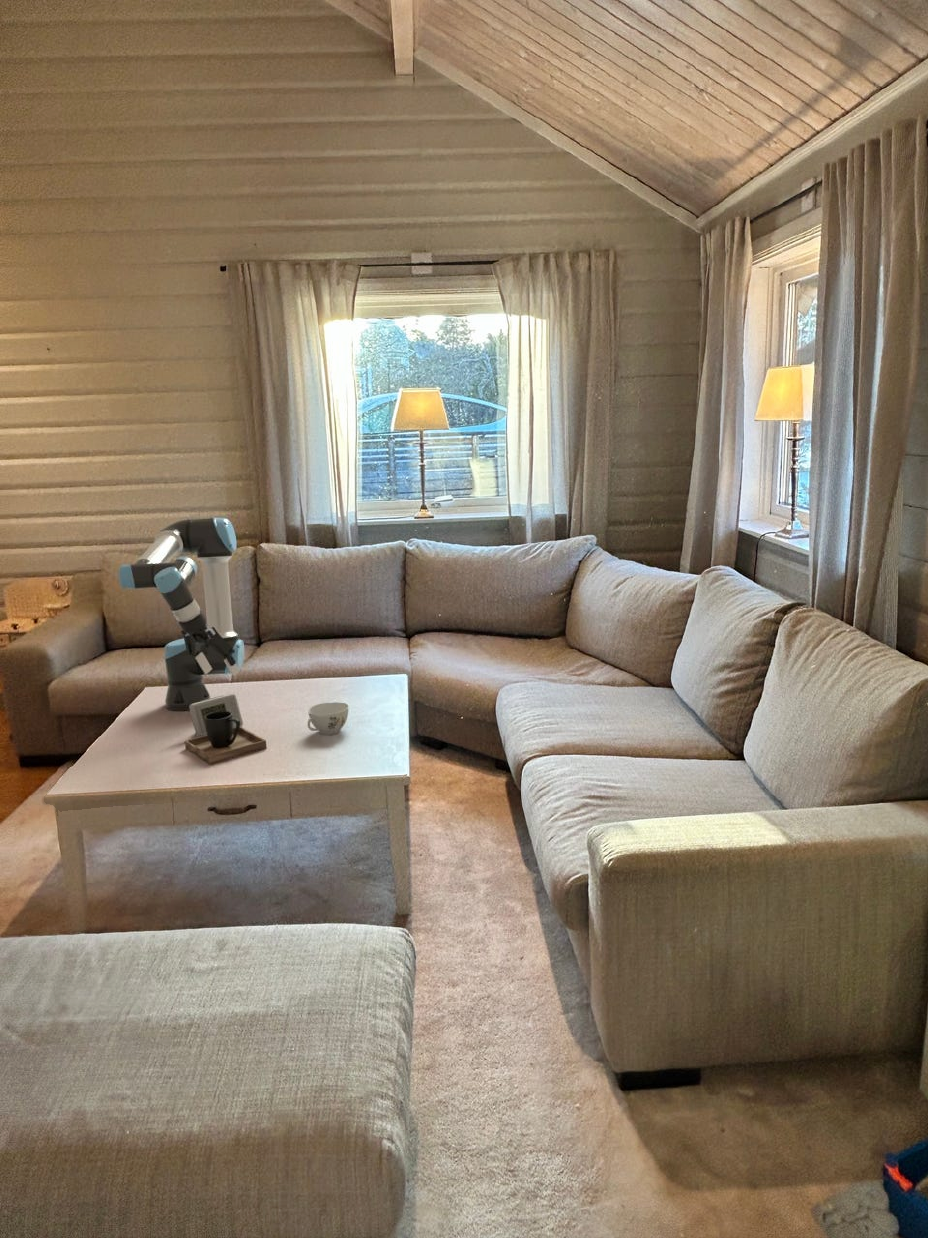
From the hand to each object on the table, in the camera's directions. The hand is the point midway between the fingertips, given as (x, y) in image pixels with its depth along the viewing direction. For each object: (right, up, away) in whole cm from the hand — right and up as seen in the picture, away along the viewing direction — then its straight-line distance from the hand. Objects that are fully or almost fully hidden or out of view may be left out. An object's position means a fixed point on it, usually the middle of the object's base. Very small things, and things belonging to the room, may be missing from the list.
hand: (222, 672), depth 275 cm
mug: (+3, -22, -6) cm, 23 cm away
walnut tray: (+3, -23, -6) cm, 24 cm away
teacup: (+32, -19, +3) cm, 38 cm away
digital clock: (-4, -20, +10) cm, 22 cm away
